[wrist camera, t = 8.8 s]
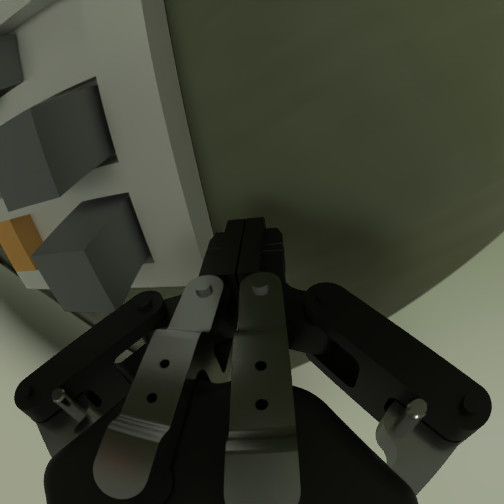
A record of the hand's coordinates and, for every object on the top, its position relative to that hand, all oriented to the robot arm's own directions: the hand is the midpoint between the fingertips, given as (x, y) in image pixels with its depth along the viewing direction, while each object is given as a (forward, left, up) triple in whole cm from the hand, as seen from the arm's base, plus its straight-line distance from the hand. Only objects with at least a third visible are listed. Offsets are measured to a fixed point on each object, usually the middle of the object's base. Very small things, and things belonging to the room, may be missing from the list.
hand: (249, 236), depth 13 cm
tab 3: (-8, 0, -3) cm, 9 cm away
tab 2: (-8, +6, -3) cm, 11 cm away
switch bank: (-11, +6, -5) cm, 13 cm away
